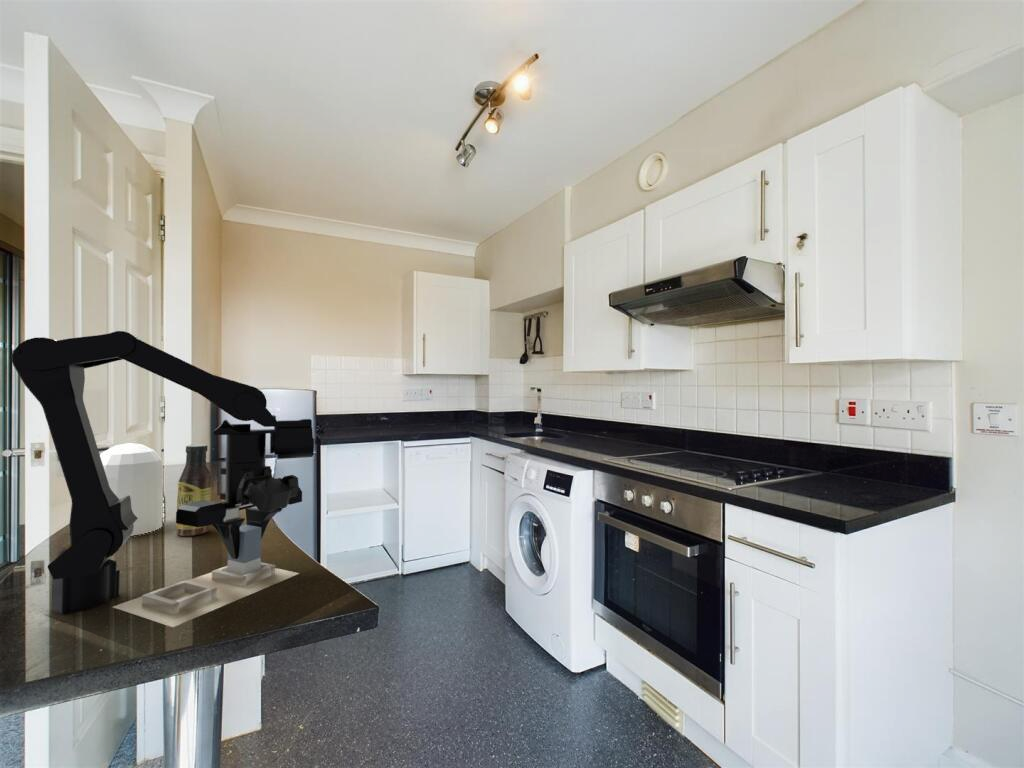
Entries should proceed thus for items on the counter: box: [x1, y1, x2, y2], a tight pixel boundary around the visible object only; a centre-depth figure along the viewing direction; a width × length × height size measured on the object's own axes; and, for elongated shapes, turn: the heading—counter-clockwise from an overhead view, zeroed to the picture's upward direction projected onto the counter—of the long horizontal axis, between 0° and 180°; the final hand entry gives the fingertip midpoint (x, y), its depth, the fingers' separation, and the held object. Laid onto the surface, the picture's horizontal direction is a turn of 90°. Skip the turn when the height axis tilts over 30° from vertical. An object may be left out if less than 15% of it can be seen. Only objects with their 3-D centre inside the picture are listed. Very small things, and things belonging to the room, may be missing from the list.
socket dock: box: [112, 561, 300, 628], centre depth 72 cm, size 20×14×2 cm
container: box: [100, 442, 164, 536], centre depth 106 cm, size 14×13×20 cm
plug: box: [227, 524, 262, 575], centre depth 77 cm, size 3×4×8 cm
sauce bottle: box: [175, 443, 212, 537], centre depth 104 cm, size 7×6×20 cm
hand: (244, 555), depth 77 cm, fingers closed on plug, 3 cm apart
